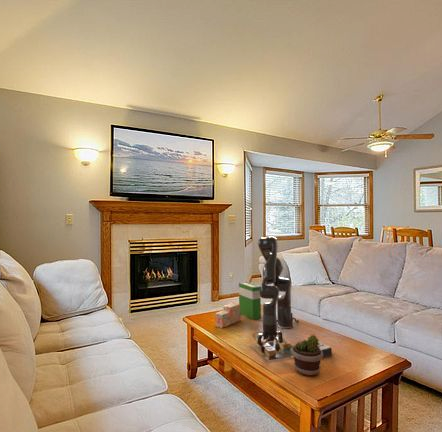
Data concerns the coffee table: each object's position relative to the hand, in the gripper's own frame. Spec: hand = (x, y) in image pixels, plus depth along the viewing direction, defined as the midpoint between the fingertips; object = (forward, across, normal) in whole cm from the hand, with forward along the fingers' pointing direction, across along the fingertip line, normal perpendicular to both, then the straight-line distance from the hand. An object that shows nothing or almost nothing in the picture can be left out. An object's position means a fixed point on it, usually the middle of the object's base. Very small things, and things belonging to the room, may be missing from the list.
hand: (270, 351), depth 165 cm
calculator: (+3, +26, -2) cm, 26 cm away
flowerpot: (+3, +9, -20) cm, 22 cm away
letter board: (+2, +6, +4) cm, 8 cm away
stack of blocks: (+3, -4, +54) cm, 54 cm away
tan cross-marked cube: (+1, 0, 0) cm, 1 cm away
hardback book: (+2, +18, +65) cm, 68 cm away
